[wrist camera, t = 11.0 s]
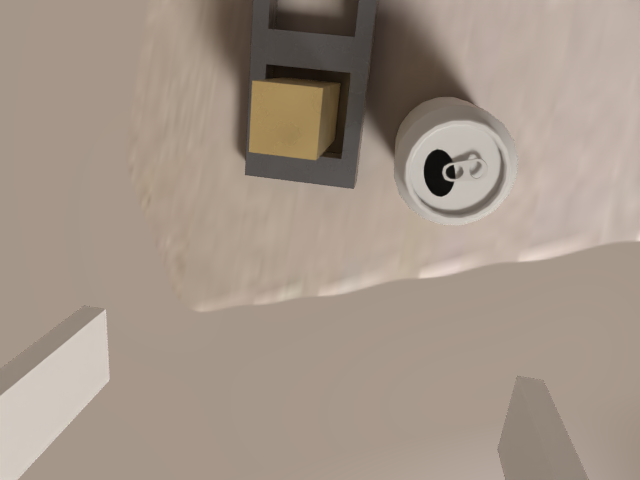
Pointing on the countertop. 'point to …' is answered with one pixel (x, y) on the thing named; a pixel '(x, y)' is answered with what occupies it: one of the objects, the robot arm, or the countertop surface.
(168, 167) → the countertop surface
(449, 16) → the countertop surface
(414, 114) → the can
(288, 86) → the brass block
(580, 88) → the countertop surface
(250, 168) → the rack
